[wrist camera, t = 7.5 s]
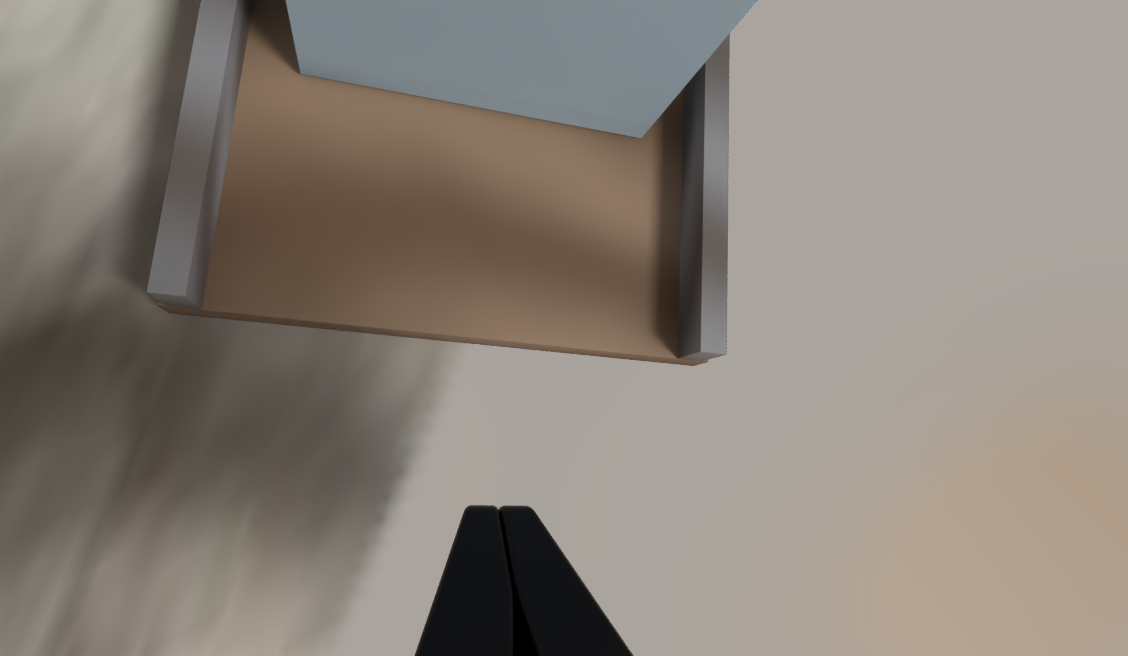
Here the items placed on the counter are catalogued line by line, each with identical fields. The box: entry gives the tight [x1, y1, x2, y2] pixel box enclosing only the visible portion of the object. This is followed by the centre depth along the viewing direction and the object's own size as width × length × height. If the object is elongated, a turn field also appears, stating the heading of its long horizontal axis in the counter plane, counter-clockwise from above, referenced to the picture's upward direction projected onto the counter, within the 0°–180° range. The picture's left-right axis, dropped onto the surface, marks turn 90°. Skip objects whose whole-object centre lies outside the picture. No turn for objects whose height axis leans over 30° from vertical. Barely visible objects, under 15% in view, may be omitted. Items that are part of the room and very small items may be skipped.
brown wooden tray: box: [147, 0, 730, 366], centre depth 19 cm, size 18×15×5 cm
